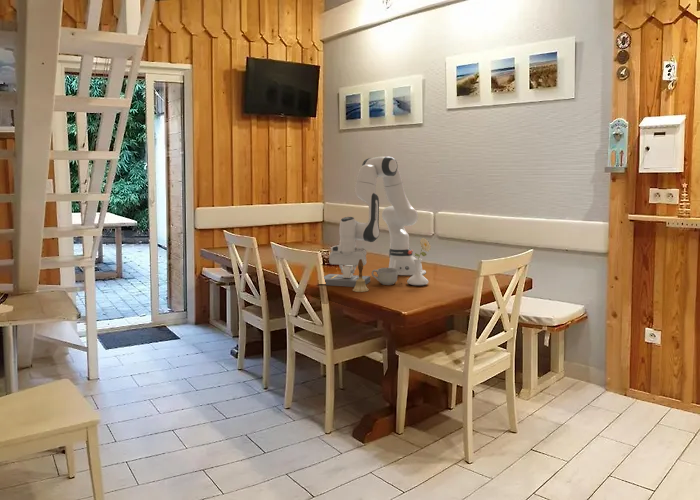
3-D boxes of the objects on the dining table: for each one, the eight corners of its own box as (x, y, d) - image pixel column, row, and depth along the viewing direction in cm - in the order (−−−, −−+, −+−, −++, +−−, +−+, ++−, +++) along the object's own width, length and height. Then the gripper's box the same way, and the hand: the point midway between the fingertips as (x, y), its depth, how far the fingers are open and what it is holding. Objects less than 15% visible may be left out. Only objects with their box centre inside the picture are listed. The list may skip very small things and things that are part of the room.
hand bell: (350, 289, 314) (349, 258, 312) (365, 288, 317) (365, 257, 315) (356, 292, 307) (355, 261, 304) (371, 291, 309) (371, 260, 307)
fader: (352, 276, 331) (352, 265, 330) (349, 278, 326) (349, 266, 325) (346, 275, 332) (345, 265, 331) (342, 277, 328) (342, 266, 327)
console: (370, 281, 334) (370, 276, 334) (361, 287, 319) (361, 281, 319) (329, 279, 342) (329, 273, 341) (318, 284, 327) (318, 278, 326)
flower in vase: (414, 287, 317) (415, 240, 314) (402, 284, 327) (403, 237, 324) (435, 285, 323) (436, 238, 320) (423, 281, 333) (423, 236, 330)
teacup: (399, 282, 331) (400, 268, 330) (394, 286, 321) (394, 271, 320) (375, 281, 336) (375, 266, 334) (369, 285, 325) (369, 270, 324)
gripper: (368, 247, 327) (368, 273, 329) (332, 246, 333) (332, 271, 335) (364, 249, 321) (364, 275, 323) (327, 247, 327) (328, 273, 329)
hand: (347, 273), depth 329 cm, fingers closed on fader, 4 cm apart
